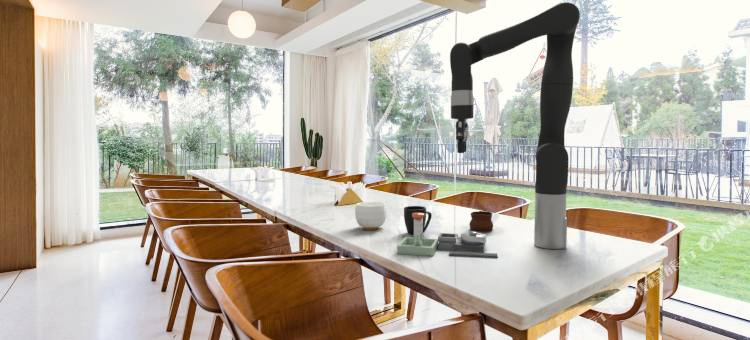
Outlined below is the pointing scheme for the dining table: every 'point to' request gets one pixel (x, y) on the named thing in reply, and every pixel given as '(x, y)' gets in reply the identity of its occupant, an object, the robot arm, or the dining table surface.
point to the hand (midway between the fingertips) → (462, 152)
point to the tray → (417, 247)
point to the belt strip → (473, 254)
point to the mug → (410, 220)
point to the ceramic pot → (481, 221)
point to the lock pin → (418, 229)
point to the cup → (370, 214)
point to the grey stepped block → (462, 242)
